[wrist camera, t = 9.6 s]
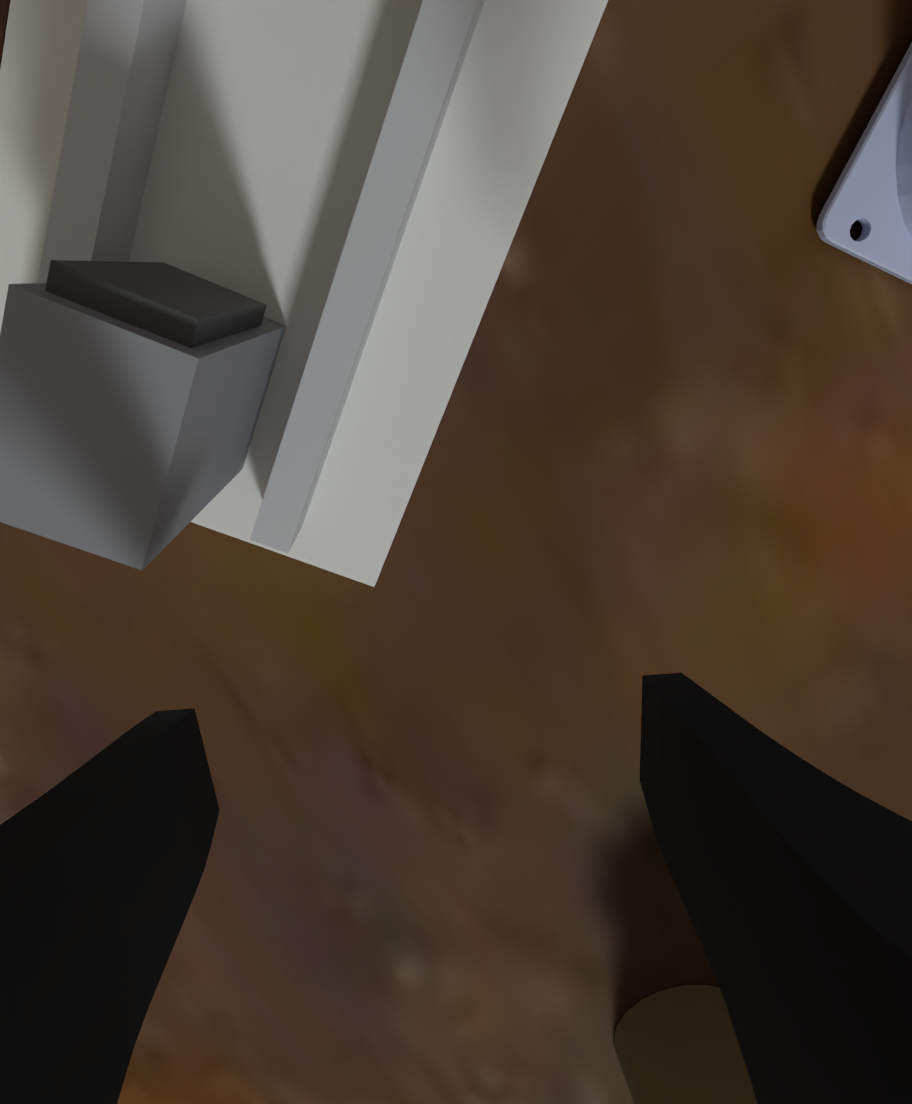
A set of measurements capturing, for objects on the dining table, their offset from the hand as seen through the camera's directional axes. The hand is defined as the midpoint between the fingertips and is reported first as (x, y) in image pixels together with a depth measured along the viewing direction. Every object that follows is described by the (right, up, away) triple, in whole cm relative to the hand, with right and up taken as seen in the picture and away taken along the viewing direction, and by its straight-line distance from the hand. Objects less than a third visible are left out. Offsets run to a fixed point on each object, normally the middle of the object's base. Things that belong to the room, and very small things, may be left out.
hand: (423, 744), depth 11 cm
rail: (-3, +14, +6) cm, 15 cm away
